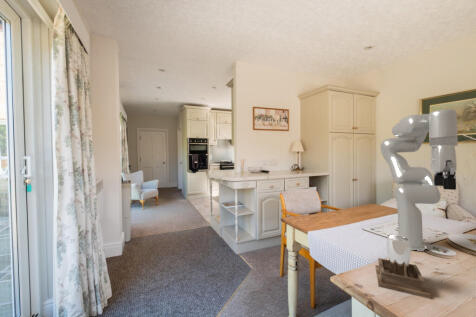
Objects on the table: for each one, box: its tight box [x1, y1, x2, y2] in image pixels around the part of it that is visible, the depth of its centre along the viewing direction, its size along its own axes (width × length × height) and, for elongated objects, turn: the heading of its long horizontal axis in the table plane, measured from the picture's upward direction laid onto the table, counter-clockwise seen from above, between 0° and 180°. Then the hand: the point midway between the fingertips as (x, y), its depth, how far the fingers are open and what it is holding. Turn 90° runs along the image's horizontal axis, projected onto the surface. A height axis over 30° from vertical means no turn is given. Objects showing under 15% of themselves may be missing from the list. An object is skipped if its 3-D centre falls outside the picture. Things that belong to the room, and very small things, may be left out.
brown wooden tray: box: [375, 257, 432, 300], centre depth 75 cm, size 14×14×5 cm
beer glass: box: [386, 234, 412, 277], centre depth 76 cm, size 7×7×15 cm
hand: (444, 187), depth 77 cm, fingers open, 9 cm apart
